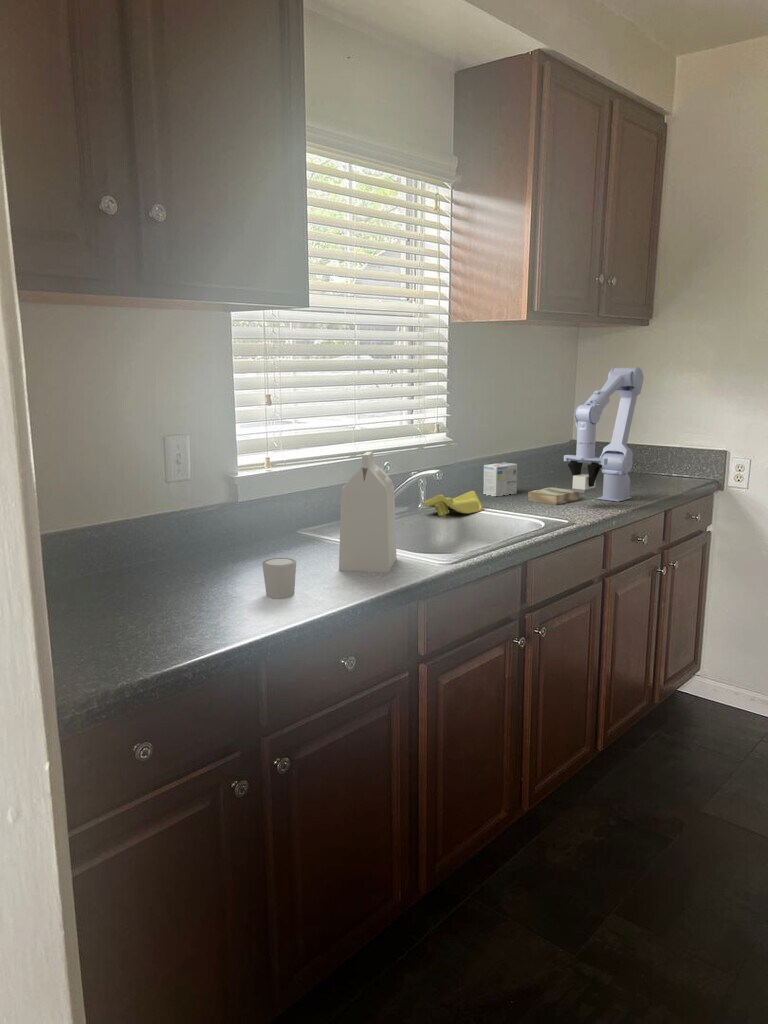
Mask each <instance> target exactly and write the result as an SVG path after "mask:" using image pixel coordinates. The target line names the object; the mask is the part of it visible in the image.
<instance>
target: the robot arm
mask: <svg viewBox="0 0 768 1024" xmlns="http://www.w3.org/2000/svg"><path fill="white" fill-rule="evenodd" d="M644 379H645V377H644V373H643V370H642V369H641V368H640V367H639V366H638V367H616V366H615V367H614V366H613V367H612V368H611V369H610V371H608V375H607V380H606V382H605V383H604V385H603V386H602V387H601V389H600V390H599V389H598V390H594V392H593V393H592V394H591V395H590V396H589V398H588V399H587V400H586V401H584V403H583V404H580V405H578V406H577V407H576V408H575V410H574V413H573V419H574V422H575V428H576V450H575V453H576V454H565V455H563V462H569V463H567V466H568V468H569V471H570V472H571V475H572V477H573V476H574V475H579V474H582V467H583V464H587V465H586V466H587V472H588V473H587V474H589V482H588V484H589V487H592V486H594V483H595V480H597V477H598V475H599V472H600V471H601V473H602V474H603V481H602V482H603V484H602V496H599V497H597V500H602V501H611V502H622V501H626V500H629V499H632V496H630V494H631V493H630V492H631V491H630V490H631V477H630V475H629V472H630V471H631V470H632V468H633V456H634V453H633V451H632V450H631V448H629V447H628V446H627V444H628V440H629V435H630V431H631V427H632V422H633V417H634V413H635V408H636V402H637V399H638V396H639V395H641V393H642V392H641V391H642V387H643V383H644ZM614 393H615V394H616V395H618V396H619V397H620V399H619V403H618V404H619V405H618V408H617V413H616V417H615V422H614V427H613V432H612V436H611V441H610V443H609V444H607V445H606V446H604V447H602V452H601V454H600V455H599V457H598V456H595V455H596V435H597V434H596V433H597V423H598V422H600V419H601V416H602V414H603V410H604V409H605V408H606V407H607V406H608V405H609V404H610V397H611V396H612V395H613V394H614Z"/></svg>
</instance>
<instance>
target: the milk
mask: <svg viewBox="0 0 768 1024" xmlns="http://www.w3.org/2000/svg"><path fill="white" fill-rule="evenodd" d="M374 459H375V458H374V452H373V451H366V452H364V453H363V454H362V455H361V468H360V469H359V470H358V471H357V472H356V473H355V474H354V475H353V476H351V478H350V479H349V480H347V482H346V483H345V484H344V485H343V486H342V488H341V493H340V521H339V524H340V525H339V553H338V555H339V558H338V571H351V572H353V571H354V572H377V573H390V571H391V569H392V567H394V564H395V562H396V561H397V559H398V558H397V557H398V556H397V555H398V554H397V535H396V532H397V529H396V506H395V505H396V504H395V503H396V502H395V486H394V482H393V480H392V479H391V478H390V476H389V475H388V474H387V472H386V471H385V470H384V469H383V468H382V467H380V466H378V465H377V464H376V463H375V460H374Z"/></svg>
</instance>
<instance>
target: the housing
mask: <svg viewBox="0 0 768 1024" xmlns="http://www.w3.org/2000/svg"><path fill="white" fill-rule="evenodd" d="M596 480H597V479H596ZM596 480H595V483H594V486H592V487H589V484H588V482H589V473H580V474H579V475H574V476H573V475H572V488H571V490H572V491H573V492H579V494H580V493H582V494H583V493H584V494H587V493H590V492H595V491H596V490H597V487H596V484H597V483H596V482H597V481H596Z"/></svg>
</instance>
